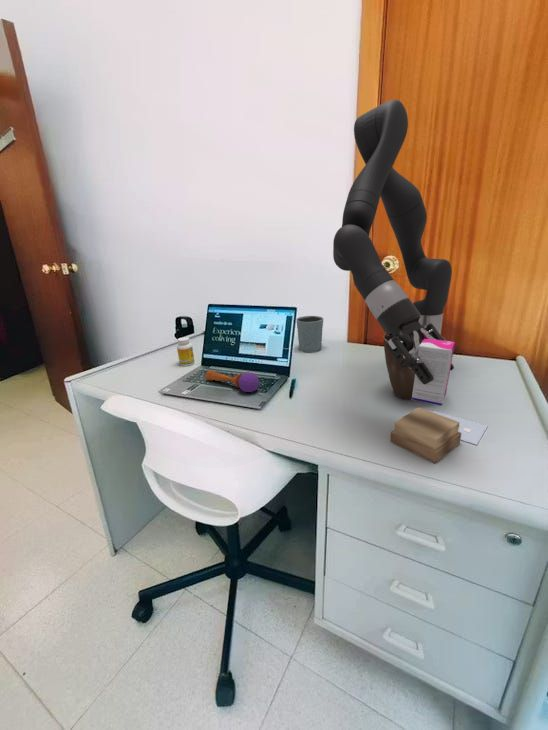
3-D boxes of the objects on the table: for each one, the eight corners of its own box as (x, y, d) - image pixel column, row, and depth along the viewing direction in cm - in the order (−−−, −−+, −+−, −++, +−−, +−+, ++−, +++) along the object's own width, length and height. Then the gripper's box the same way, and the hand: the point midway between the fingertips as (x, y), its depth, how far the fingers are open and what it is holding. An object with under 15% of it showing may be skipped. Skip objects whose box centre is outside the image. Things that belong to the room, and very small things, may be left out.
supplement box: (443, 406, 66) (451, 350, 61) (410, 400, 69) (416, 345, 64) (447, 394, 70) (455, 340, 66) (416, 388, 73) (422, 337, 69)
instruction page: (432, 411, 85) (432, 410, 85) (487, 426, 77) (487, 425, 77) (418, 427, 79) (418, 425, 79) (476, 445, 71) (477, 444, 71)
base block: (415, 424, 80) (417, 405, 78) (459, 443, 72) (463, 422, 71) (390, 441, 74) (391, 421, 72) (434, 463, 67) (437, 441, 65)
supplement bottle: (180, 362, 128) (175, 337, 125) (194, 360, 129) (191, 335, 125) (179, 367, 123) (175, 341, 120) (194, 365, 124) (191, 339, 121)
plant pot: (396, 378, 104) (400, 326, 98) (447, 391, 94) (455, 335, 88) (369, 395, 95) (372, 339, 89) (423, 412, 85) (430, 351, 79)
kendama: (216, 364, 113) (263, 372, 101) (216, 382, 114) (263, 391, 102) (201, 367, 108) (249, 375, 96) (202, 386, 109) (249, 396, 97)
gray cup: (296, 353, 130) (294, 322, 126) (298, 344, 139) (297, 315, 135) (323, 353, 128) (322, 321, 124) (323, 344, 138) (323, 315, 133)
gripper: (382, 302, 64) (435, 378, 59) (424, 291, 72) (473, 357, 68) (358, 325, 70) (405, 396, 65) (399, 313, 78) (443, 374, 73)
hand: (439, 376), depth 66 cm, fingers closed on supplement box, 7 cm apart
